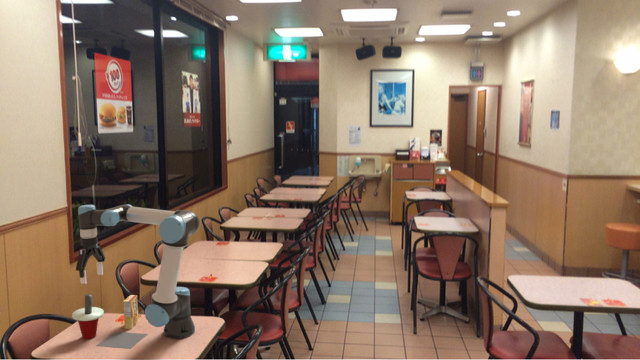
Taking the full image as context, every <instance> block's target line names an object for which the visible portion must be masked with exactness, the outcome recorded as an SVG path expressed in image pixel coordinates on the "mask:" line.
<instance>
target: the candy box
mask: <svg viewBox="0 0 640 360" xmlns="http://www.w3.org/2000/svg"><path fill="white" fill-rule="evenodd" d="M138 302H139V301H138V295H137V294H135V295H134V294H131V295H129V296H127V298H125V299H123V319H124V323H123V324H124V330H132V329H134V327H135V326H136V325H137V324H138V323H139V303H138Z"/></svg>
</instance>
